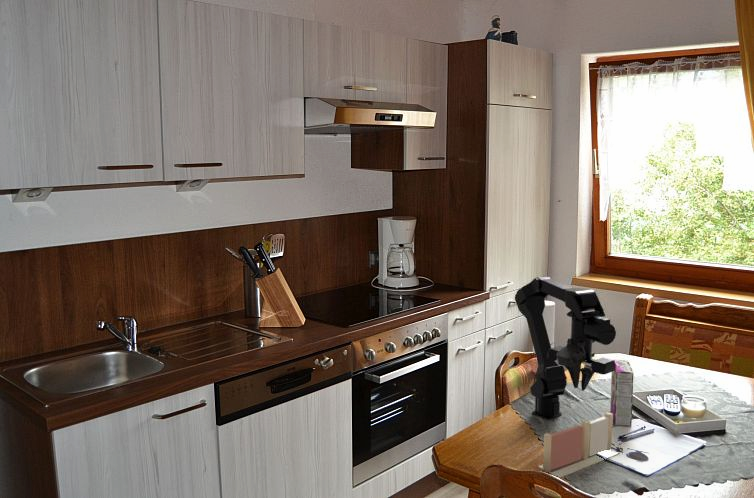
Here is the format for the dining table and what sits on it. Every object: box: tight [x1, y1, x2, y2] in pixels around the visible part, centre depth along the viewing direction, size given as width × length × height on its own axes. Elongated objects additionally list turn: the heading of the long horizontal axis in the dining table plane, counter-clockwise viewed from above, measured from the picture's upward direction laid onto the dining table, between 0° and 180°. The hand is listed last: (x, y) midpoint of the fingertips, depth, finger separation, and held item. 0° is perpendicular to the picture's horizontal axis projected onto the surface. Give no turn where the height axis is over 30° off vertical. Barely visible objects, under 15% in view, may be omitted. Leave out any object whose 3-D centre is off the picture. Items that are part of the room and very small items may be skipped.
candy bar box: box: [609, 359, 634, 427], centre depth 207 cm, size 11×5×16 cm, turn 168°
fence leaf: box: [542, 424, 583, 473], centre depth 178 cm, size 13×2×9 cm, turn 122°
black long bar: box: [532, 300, 556, 354], centre depth 248 cm, size 7×7×25 cm
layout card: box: [537, 454, 605, 479], centre depth 182 cm, size 23×7×1 cm, turn 124°
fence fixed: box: [581, 412, 614, 460], centre depth 185 cm, size 11×2×10 cm, turn 124°
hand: (579, 389), depth 197 cm, fingers open, 2 cm apart
